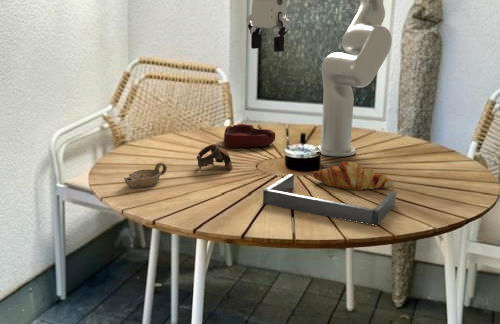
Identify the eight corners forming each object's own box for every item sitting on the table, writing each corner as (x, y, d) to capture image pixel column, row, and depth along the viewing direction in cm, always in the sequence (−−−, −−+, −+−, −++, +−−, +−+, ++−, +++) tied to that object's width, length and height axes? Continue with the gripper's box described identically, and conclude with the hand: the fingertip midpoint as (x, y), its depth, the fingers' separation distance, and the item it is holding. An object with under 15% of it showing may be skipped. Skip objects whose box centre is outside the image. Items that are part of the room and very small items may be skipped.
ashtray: (208, 143, 199) (208, 129, 198) (244, 136, 210) (244, 122, 209) (243, 154, 187) (243, 139, 185) (279, 146, 197) (280, 131, 196)
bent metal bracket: (289, 186, 157) (289, 173, 156) (394, 205, 144) (396, 192, 143) (263, 203, 144) (263, 189, 143) (376, 226, 131) (377, 211, 130)
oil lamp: (133, 193, 150) (132, 174, 149) (117, 186, 155) (116, 168, 154) (174, 182, 159) (174, 164, 158) (158, 176, 164) (158, 158, 163)
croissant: (390, 197, 160) (393, 169, 161) (393, 192, 150) (395, 161, 152) (312, 189, 164) (315, 161, 165) (310, 183, 154) (313, 154, 156)
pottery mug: (233, 175, 167) (219, 153, 163) (204, 187, 170) (190, 165, 166) (237, 154, 177) (224, 132, 173) (210, 165, 180) (196, 144, 176)
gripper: (300, -14, 156) (298, 51, 161) (258, -15, 169) (257, 46, 174) (279, -14, 151) (277, 53, 156) (237, -15, 164) (237, 48, 169)
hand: (267, 49), depth 165 cm, fingers open, 9 cm apart
